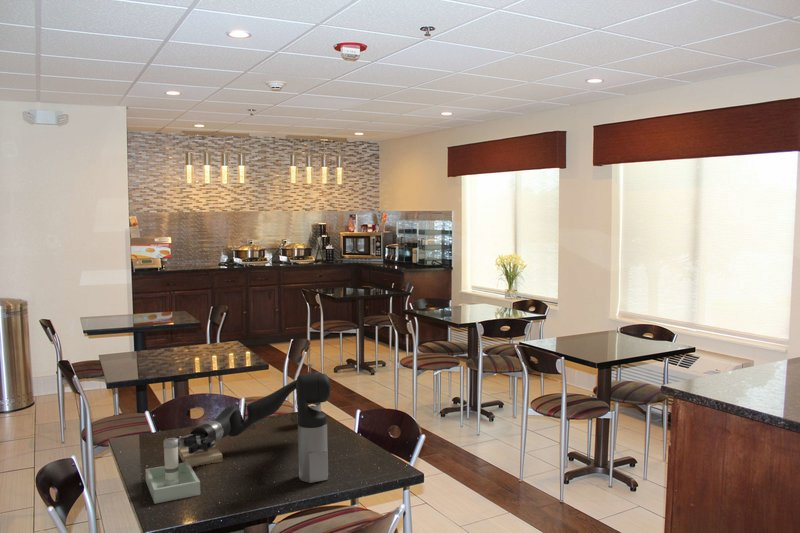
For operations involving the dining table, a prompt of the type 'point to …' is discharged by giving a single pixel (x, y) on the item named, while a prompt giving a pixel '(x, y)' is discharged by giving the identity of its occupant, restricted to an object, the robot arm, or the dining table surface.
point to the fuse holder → (200, 456)
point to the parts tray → (185, 488)
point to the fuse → (171, 461)
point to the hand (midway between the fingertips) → (177, 449)
